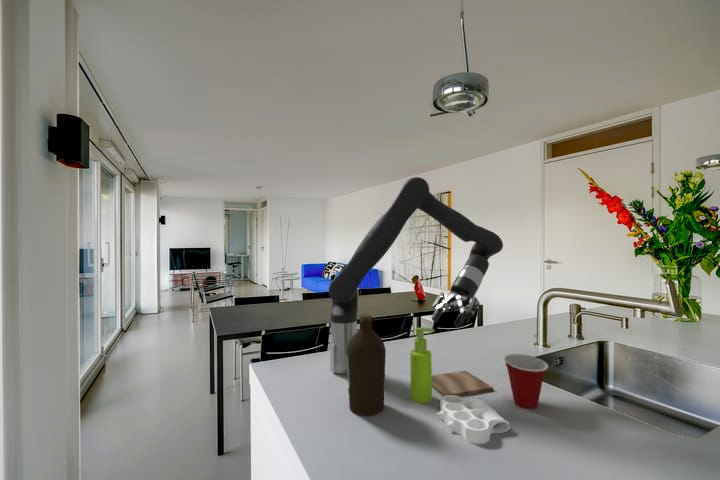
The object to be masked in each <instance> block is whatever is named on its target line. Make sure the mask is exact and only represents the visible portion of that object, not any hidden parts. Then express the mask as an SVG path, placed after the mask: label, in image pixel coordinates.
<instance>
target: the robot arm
mask: <svg viewBox="0 0 720 480" xmlns="http://www.w3.org/2000/svg"><path fill="white" fill-rule="evenodd" d="M417 210H420V211H422V212H423V213H425V214H426V215H429V216H430V217H431V218H433V219H434V220H435V221H436V222H438V223H439V224H440V225H441V226H443V227H445V228H446V230H448V231H449V232H451V233H452V234H453V235H454V236H456V237H457V238H458V239H460V240H461V241H463V243H464V242H466V243H468V242H469V243H470V242H475V243H474V244H473V245H472V247H471V249H470V251H469V255H468V258H467V260H466V262H465V264H463V267H462V268H461V270H460V271H459V273H458V275H457V276H456V277H455V279H454V280H453V283H452V285H451V287H450V292H449V293H448V294H445V293H444V292H443V291H441V292H440V293H439V294H438V296H437V297H436V299H435V301H434V302H433V304H432V307H433V309H434V310H435V311H434V312H433V314H432V316H431V320H432V321H433V323H438V322H439V320H440V318H441V316H442V315H443V313H444V312H445V311H449V310H456V311H460V313H458V314H457V316H456V319H455V320H454V322H453V325H454V327H455V328H457V329H459V328H461V327H462V325H463V324H464V322H465V320H466V319H467V318H474V316H475V314H476V312H477V310H478V307H479V305H480V301H479V299H478V298H477V297H476V293H477V292H478V290H479V289H480V286H481V284H482V282H483V279H484V278H485V275H486V273H487V272H488V269H489V267H490V263H489V259H490V258H492V256H494V255H496V254H498V253H500V252H501V251H502V249H503V247H504V242H503V240H502V238H501V237H500V236H499V235H498V234H496V233H495V232H493V231H491V230H489V229H487V228H485V227H482V226H479V225H477V224H475V223H474V222H473V221H472V220H470V219H469V218H468V217H466V216H465V215H464V214H462V213H461V212H458V211H457V210H455V209H454V208H452V207H450V206H449V205H446V204H445V203H443V202H442V201H440V200H439V199H438V198H437V197H435V196H434V195H433V194H432V193H431V192H430V185H429V183H428V182H427V180H425V178H422V177H418V176H415V177H411V178H409V179H406V181H405V182H404V183H403V185H402V187H401V189H400V191H399V193H398V194H397V196H396V198H395V199H394V201H393V202H392V204H391V205H390V207H389V208H388V209H387V210H386V211H385V213H383V214H382V216H381V217H380V218H378V220H377V221H376V222H375V223H374V224H373V226H372V227H371V228H370V229H369V231H368V232H367V233H366V234H365V236H364V238H363V239H362V240H361V242H360V243H359V245H358V247H357V248H356V250H355V252H354V253H353V255H352V256H351V258H350V260H349V261H348V262H347V264H346V265H345V266H344V267H343V269H342V270H341V271H340V272H339V273H338V274H337V275H336V276H335V278H333V279H332V280H331V282H330V283H329V286H328V294H329V297H330V299H331V300H332V304H331V313H330V341H329V369H330V371H331V372H332V374H339V375H341V374H342V375H348V368H347V354H346V352H347V346H348V343H349V341H350V339H351V338H352V337H353V336H354V335H355V334H356V333H357V331H358V318H357V317H358V306H359V305H358V304H359V303H358V301H359V299H358V296H359V295H358V293H359V292H358V290H359V289H358V288H359V286H360V284H361V282H362V281H363V280H364V279H365V277H366V275H367V274H369V271H371V270H372V269H373V268H374V266H376V265H377V264H378V263H379V262H380V261H381V260H382V258H383V257H384V256H385V254H386V253H387V252H388V251H389V250H390V249H391V247H392V245H394V244H395V243H394V242H395V241H396V240H397V238H398V237H399V235H400V233H401V232H402V230H403V229H404V227H405V224H406V223H407V222H408V220H409V218H411V216H412V215H413V214H414V213H415V212H416V211H417Z"/></svg>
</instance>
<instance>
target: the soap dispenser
mask: <svg viewBox="0 0 720 480" xmlns="http://www.w3.org/2000/svg"><path fill="white" fill-rule="evenodd" d="M414 331H415V332H416V333H417V338H415V339H414V349H412V350H411V351H410V352H409V353H410V399H411V400H412V401H414V402H415V403H419V404H426V403H429V402H431V401H432V399H433V391H432V390H433V388H432V375H433V374H432V352H431V351H430V350H427V349H428V347H427V343H428V342H427V339H425V338H424V332H428V333H435V328H430V327H415V330H414Z"/></svg>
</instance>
